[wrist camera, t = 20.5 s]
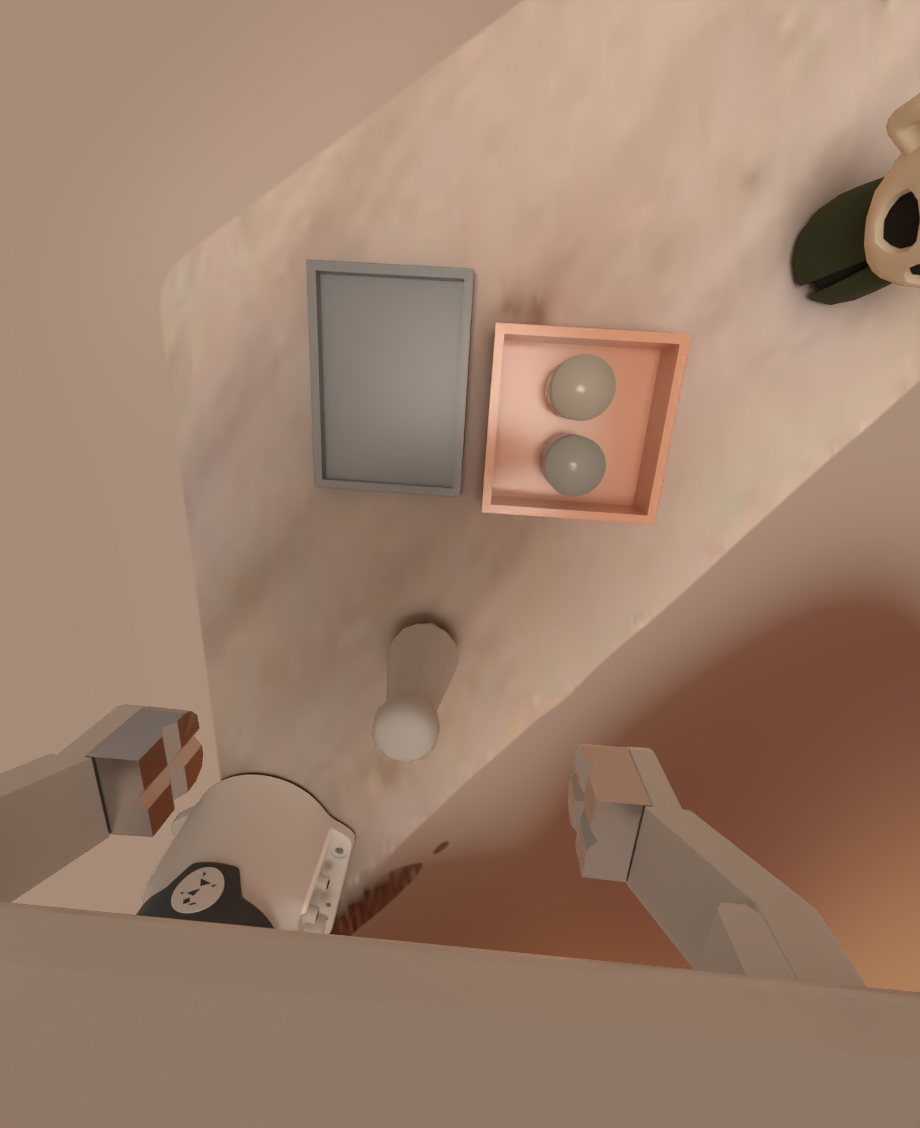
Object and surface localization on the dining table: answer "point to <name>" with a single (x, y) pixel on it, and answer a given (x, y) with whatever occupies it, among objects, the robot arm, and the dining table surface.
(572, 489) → the pebble
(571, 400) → the pebble
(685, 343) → the open box
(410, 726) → the salt shaker
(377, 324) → the tray
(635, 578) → the dining table surface
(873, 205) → the character mug
